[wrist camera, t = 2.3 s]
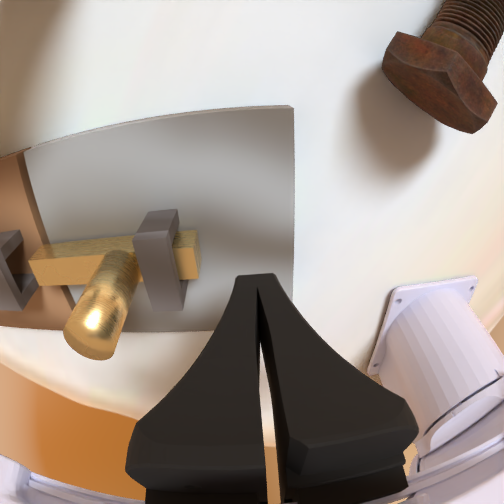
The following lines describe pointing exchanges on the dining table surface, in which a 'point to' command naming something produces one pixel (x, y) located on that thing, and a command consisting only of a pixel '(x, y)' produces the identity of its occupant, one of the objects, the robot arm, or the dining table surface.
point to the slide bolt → (104, 284)
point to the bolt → (450, 63)
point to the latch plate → (154, 211)
